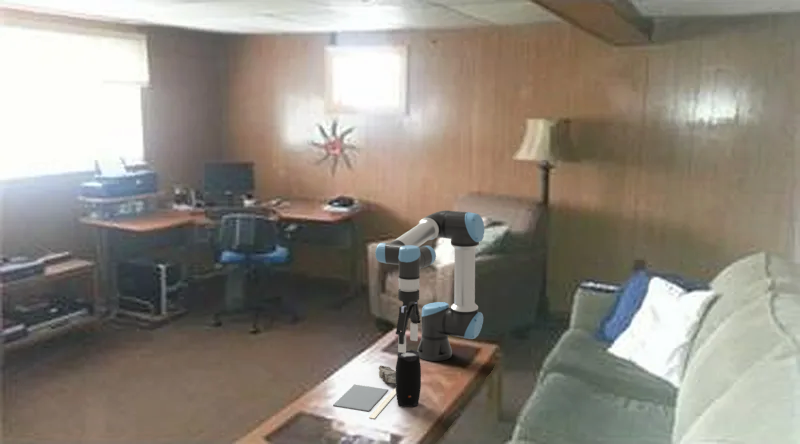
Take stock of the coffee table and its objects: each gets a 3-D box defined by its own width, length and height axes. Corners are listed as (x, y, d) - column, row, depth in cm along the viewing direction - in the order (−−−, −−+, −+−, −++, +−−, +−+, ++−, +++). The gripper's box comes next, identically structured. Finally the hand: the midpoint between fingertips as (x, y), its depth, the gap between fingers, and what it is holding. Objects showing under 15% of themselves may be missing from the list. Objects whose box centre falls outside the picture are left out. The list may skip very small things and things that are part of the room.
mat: (354, 385, 274) (354, 384, 274) (388, 390, 270) (388, 389, 270) (333, 405, 255) (333, 404, 255) (368, 411, 251) (368, 410, 251)
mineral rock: (406, 386, 273) (406, 375, 272) (386, 388, 271) (386, 377, 270) (396, 373, 287) (396, 362, 286) (377, 375, 285) (377, 364, 284)
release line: (397, 386, 274) (397, 385, 274) (402, 386, 273) (402, 386, 273) (369, 418, 246) (369, 417, 246) (374, 419, 245) (374, 418, 245)
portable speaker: (417, 410, 252) (417, 358, 249) (392, 407, 255) (392, 355, 252) (423, 400, 260) (423, 350, 257) (398, 397, 263) (399, 347, 260)
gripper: (409, 280, 263) (409, 334, 267) (387, 296, 240) (386, 356, 243) (429, 282, 261) (428, 337, 264) (407, 298, 238) (406, 358, 241)
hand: (408, 346), depth 254 cm, fingers open, 13 cm apart
